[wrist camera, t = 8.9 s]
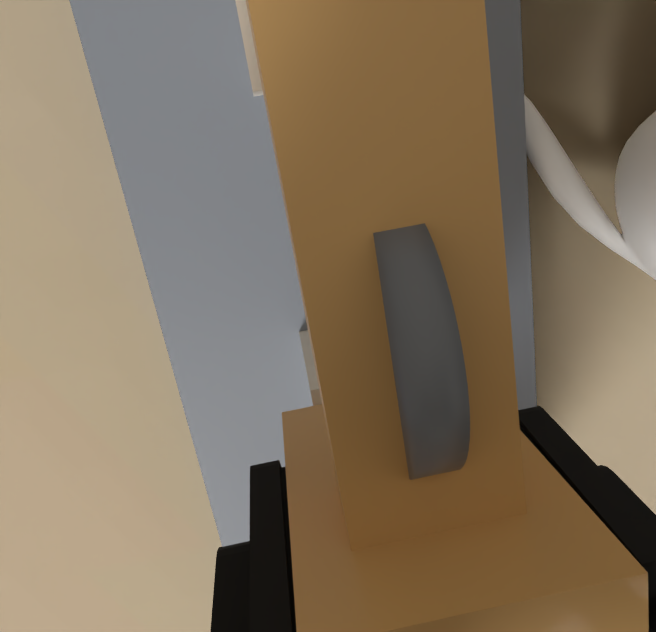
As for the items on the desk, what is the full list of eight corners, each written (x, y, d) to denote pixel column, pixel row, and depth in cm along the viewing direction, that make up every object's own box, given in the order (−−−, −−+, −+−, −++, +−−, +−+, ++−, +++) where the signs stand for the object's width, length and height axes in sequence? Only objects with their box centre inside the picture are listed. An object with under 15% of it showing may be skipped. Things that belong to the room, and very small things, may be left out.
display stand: (488, -125, 14) (747, -379, 7) (527, 602, 22) (666, 854, 15) (68, -60, 14) (-157, -257, 6) (264, 660, 22) (269, 953, 14)
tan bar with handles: (424, -57, 10) (637, -321, 4) (514, 783, 16) (655, 1144, 10) (189, -20, 10) (89, -244, 4) (367, 818, 16) (428, 1205, 10)
